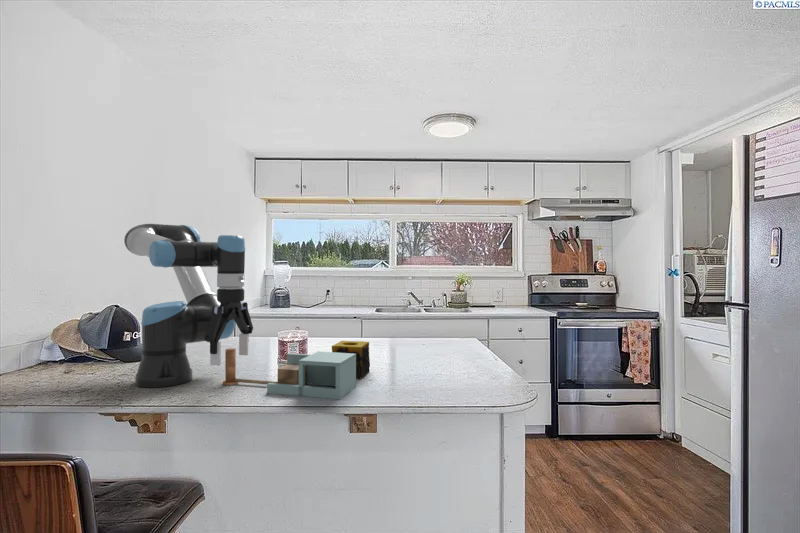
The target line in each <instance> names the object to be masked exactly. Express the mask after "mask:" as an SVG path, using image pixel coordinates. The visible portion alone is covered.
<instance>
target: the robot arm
mask: <svg viewBox="0 0 800 533" xmlns="http://www.w3.org/2000/svg"><path fill="white" fill-rule="evenodd" d="M245 242H246V241H245V238H244V237H243V236H242V235H234V234H233V235H231V234H230V235H229V234H228V235H227V234H225V235H224V234H223V235H218V237H217V241H216V242H215V241H214V242H213V241H211V242H209V241H201V236H200V233H199V231H198V230H197V229H196V228H195V227H193V226H192V225H191V226H190V225H185V224H179V225H178V224H177V225H176V224H163V223H162V224H161V223H160V224H159V223H142V224H138V225H136V226H133V227H131V228H130V229H129V230H128V231H127V232H126V234H125V236H124V246H125V248H126V249H127V250H128V251H129V252H130V253H132V254H134V255H136V256H138V257H139V256H140V257H145V256H146V257H148V258H149V261H150V264H151V265H152V266H153V267H155V268H156V267H157V268H173V270H174V274H175V276H176V278H177V280H178V283H179V285H180V288H181V290H182V293H183V295H184V298H185V300H186V301H183V300H178V301H177V300H176V301H165V302H160V303H155V304H152V305H149V306H147V307H145V308H144V309H143V310H142V314H141V315H142V316H141V317H142V318H141V324H140V325H141V354H142V355H141V359H140V363H139V365H138V368H137V373H136V374H135V376H134V378H135V379H134V381H135V382H134V385H135V386H136V387H140V388H165V387H166V388H167V387H171V386H177V385H182V384H185V383H188V382H190V381H191V380H193V370H192V368H191V365H190V362H189V359H188V355H187V344H193V343H200V342H207V343H209V353H210V354H209V355H210V362H209V364H210V366H216V367H219V366H221V360H222V359H221V355H222V354H221V351H222V350H221V348H222V346H221V345H222V344H221V341H220V340H224V339H228V338H230V337H231V336H232V335H233V334H234V331H235V326H237V328H238V329H239V331H240V333H239V335H238V340H239V341H238V351H239V352H238V355H239V356H248V355H249V341H250V340H249V337H250V336H249V335H250V334H251V335H252V333H253V331H254V325H253V323H252V318H251V316H250V311H249V308H248V302H247V301H245V289H244V288H243V287H244V286H245V263H246V260H245V259H246V255H245V254H246V244H245ZM207 267H209V268H217V270H216V273H217V274H216V287H217V288H218V289H217V290H216V292H215V293H214V291H213V289H212V286H211V284H210V282H209V279H208V278H207V275H206V273H205V272H204V269H203V268H207Z"/></svg>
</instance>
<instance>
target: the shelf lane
mask: <svg viewBox="0 0 800 533" xmlns="http://www.w3.org/2000/svg"><path fill="white" fill-rule="evenodd" d="M287 364H294V365H299V385H290V384H277V383H268V384H266V393H267V394H273V395H275V394H276V395H285V396H295V397H296V396H297V397H309V398H320V399H321V398H322V399H332V400H341V399H342V398H343V397H345V396H346V395H347V394H349V392H351V391H352V390H354V389H355V388H356V386H357V379H356V354H353V353H336V352H332V351H317V352H314V353H312V354H310V353H309V354H308V353H295V352H294V353H293V352H292V353H291V352H288V353H287V354H286V365H287ZM305 365H307V386H305ZM312 385H313V386H312ZM329 386H330V387H329Z"/></svg>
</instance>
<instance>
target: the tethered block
mask: <svg viewBox="0 0 800 533" xmlns="http://www.w3.org/2000/svg"><path fill="white" fill-rule="evenodd" d="M236 353H237V352H236V348H233V347H232V348H226V349H225V353H224V354H225V356H224V357H225V359H224V360H225V369H224V370H225V372H224V374H225V380H222V385H223V386H234V385H237V384H239V383H245V384H253V385H254V384H258V385H267V384H268V383H277V384H290V385H299V365H294V364H287V363H286V364H285V365H283V366H281V367H278V368H277V381H274V380H273V381H272V380H262V379H261V380H259V379H258V380H257V379H247V378H236V373H237V372H236V368H237V367H236V366H237V364H236V363H237V362H236V361H237V360H236V359H237V358H236V357H237V355H236ZM305 386H308V384H307V365H305Z"/></svg>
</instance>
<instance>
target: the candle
mask: <svg viewBox="0 0 800 533" xmlns="http://www.w3.org/2000/svg"><path fill="white" fill-rule="evenodd" d="M331 352H336V353H353V354H356V380H362V379H363V378H364V377H366V375H368V373H370V368H371V367H370V366H371V363H370V342H369V341H362V340H361V341H359V340H358V341H357V340H341V341H339V342H337V343H334V344H333V345H331Z"/></svg>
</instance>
